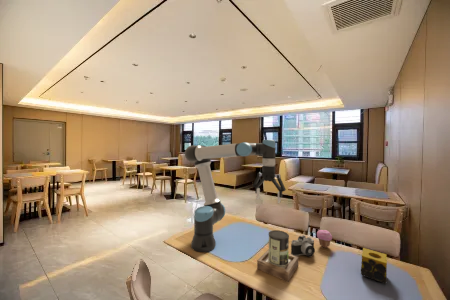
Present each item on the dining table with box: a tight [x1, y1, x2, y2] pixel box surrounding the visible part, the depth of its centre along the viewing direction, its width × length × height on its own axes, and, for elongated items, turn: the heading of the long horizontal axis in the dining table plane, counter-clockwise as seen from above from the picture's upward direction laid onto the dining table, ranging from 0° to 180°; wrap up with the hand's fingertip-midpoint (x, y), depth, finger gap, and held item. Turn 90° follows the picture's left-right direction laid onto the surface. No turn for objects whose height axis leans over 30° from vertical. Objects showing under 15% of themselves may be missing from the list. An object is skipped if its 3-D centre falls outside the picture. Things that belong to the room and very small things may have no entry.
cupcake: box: [316, 229, 333, 248], centre depth 125 cm, size 9×9×10 cm
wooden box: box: [256, 248, 299, 283], centre depth 102 cm, size 16×16×4 cm
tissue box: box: [360, 247, 388, 284], centre depth 97 cm, size 10×10×10 cm
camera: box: [290, 234, 316, 258], centre depth 114 cm, size 16×9×10 cm, turn 106°
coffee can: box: [268, 229, 290, 267], centre depth 102 cm, size 10×10×14 cm
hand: (268, 200), depth 117 cm, fingers open, 13 cm apart
